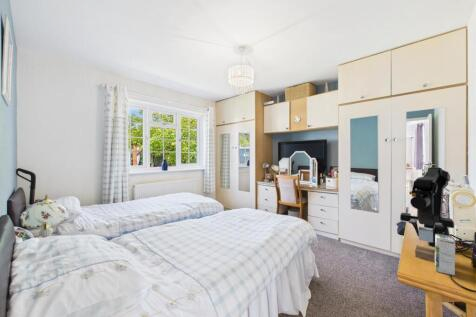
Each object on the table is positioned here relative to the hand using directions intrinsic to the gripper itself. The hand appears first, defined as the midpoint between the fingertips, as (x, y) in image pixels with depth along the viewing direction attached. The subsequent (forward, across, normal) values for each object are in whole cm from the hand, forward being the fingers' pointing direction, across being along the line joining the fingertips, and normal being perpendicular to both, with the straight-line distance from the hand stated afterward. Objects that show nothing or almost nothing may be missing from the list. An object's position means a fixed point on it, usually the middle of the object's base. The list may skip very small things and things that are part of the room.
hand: (425, 237), depth 99 cm
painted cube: (+1, 0, 0) cm, 1 cm away
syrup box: (+10, +6, -11) cm, 15 cm away
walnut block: (+10, 0, 0) cm, 10 cm away
